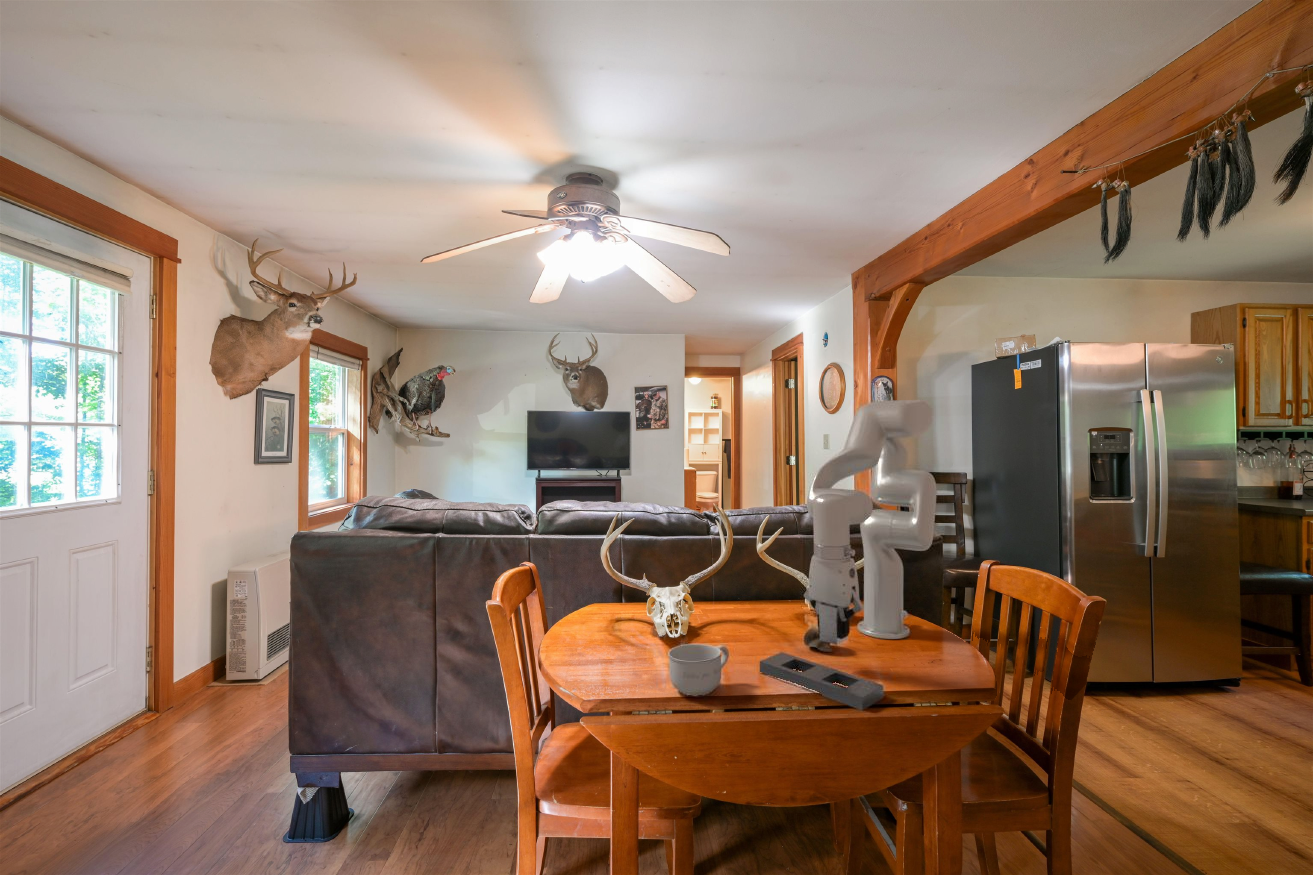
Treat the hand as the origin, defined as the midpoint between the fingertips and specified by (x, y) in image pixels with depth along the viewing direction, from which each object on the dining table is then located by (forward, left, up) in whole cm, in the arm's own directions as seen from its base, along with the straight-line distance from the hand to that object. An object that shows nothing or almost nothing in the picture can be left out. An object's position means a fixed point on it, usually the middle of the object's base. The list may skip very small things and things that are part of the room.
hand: (833, 633), depth 132 cm
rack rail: (+9, +2, -8) cm, 12 cm away
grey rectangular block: (0, 0, -1) cm, 1 cm away
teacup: (+28, -13, -8) cm, 32 cm away
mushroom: (-9, -9, -8) cm, 15 cm away
